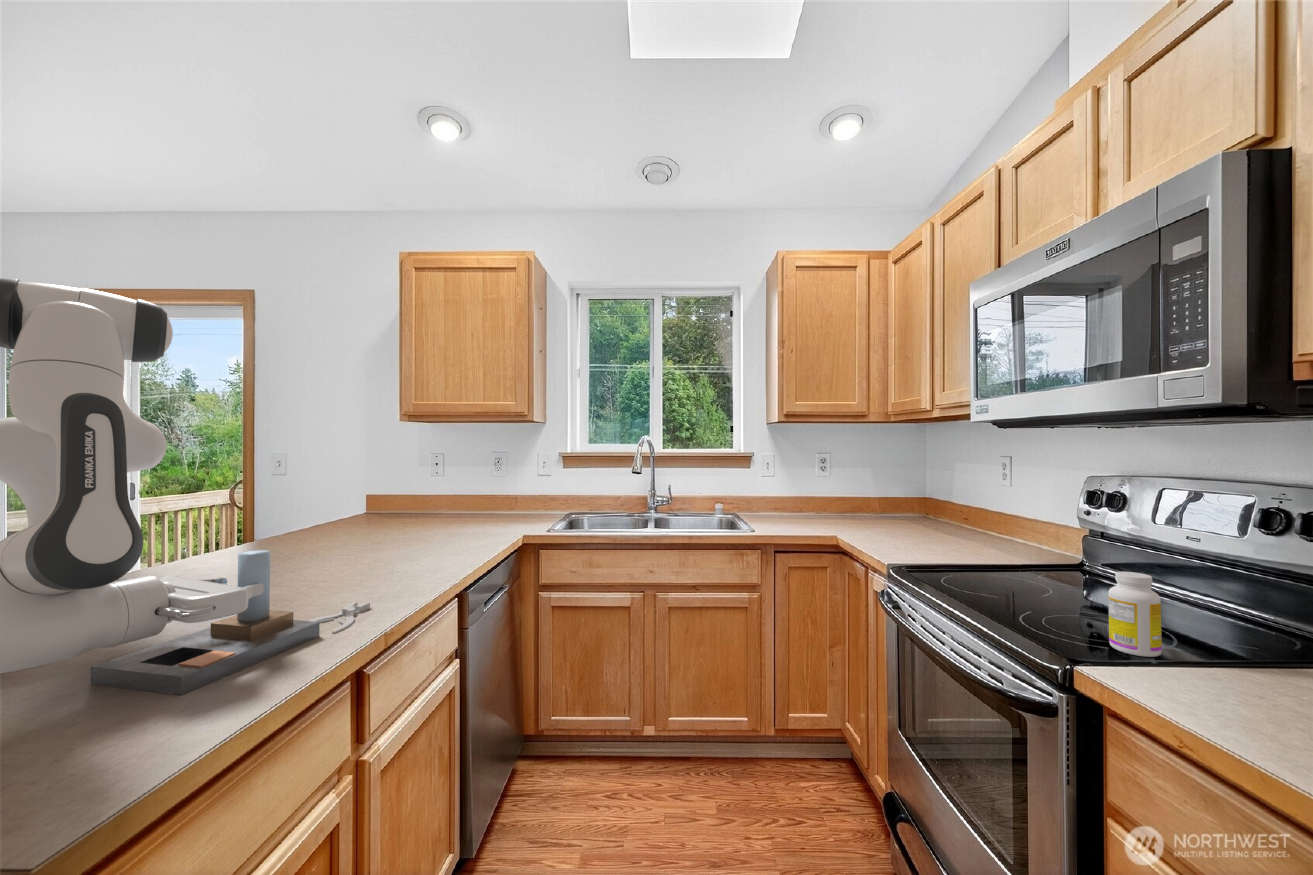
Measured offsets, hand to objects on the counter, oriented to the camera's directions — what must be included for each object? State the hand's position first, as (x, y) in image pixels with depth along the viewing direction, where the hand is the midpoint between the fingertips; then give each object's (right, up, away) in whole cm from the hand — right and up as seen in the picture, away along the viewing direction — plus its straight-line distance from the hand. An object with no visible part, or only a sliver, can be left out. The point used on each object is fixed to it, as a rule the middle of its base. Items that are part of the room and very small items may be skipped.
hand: (242, 585), depth 90 cm
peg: (+1, -6, +2) cm, 6 cm away
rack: (-1, -10, -4) cm, 11 cm away
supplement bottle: (+150, -11, +1) cm, 151 cm away
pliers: (+7, -11, +15) cm, 20 cm away
